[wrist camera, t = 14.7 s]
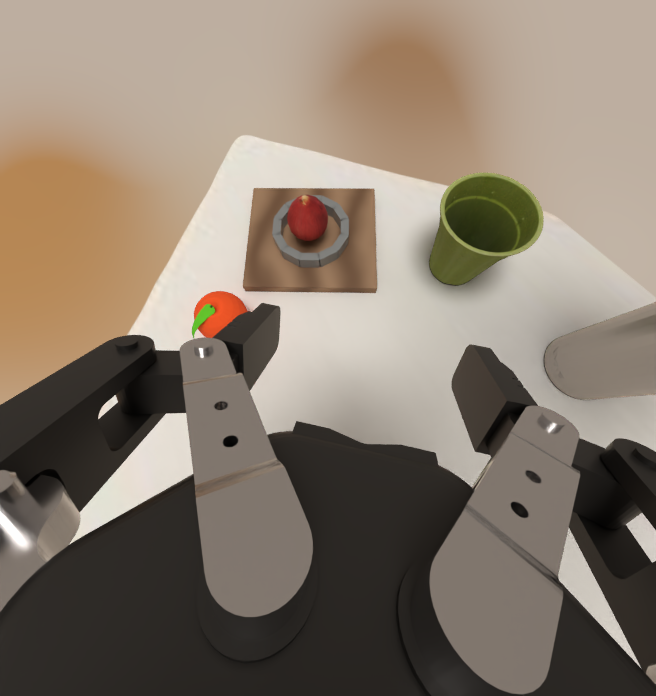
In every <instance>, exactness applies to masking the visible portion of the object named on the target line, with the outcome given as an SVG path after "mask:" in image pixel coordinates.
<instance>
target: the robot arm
mask: <svg viewBox="0 0 656 696" xmlns="http://www.w3.org/2000/svg"><path fill="white" fill-rule="evenodd" d="M279 330H280V307H279V306H275V305H270V304H265V303H261V304H260V305H259V306H258V307H257V308H256V309H255V310H254V311H253V312H249V311H248V312H245V313H243V314H240V315H238V316H237V317H236V318H234V319H233V320H232V322H230V323H229V324H228V325H227V326H225V327H224V328H223V329H222V330H221V331H219V332H218V333H217V334H216V335H215V336H214V337H212V338H197V339H193V340H190V341H188V342H186V343H184V344H183V345H182V346H181V348H180V351H159V350H155V346H154V342H153V340H152V339H151V338H149V337H146V336H141V335H128V336H122V337H117V338H114V339H112V340H109V341H107V342H105V343H104V344H102V345H100V346H99V347H97V348H95V349H94V350H92V351H90V352H89V353H87V354H85V355H84V356H82V357H80V358H79V359H77V360H75V361H74V362H72V363H70V364H69V365H67V366H65V367H63V368H62V369H60V370H58V371H57V372H55V373H53V374H52V375H50V376H48V377H47V378H45V379H43V380H42V381H40V382H39V383H37V384H35V385H33V386H32V387H30V388H28V389H27V390H25V391H23V392H22V393H20V394H18V395H16V396H15V397H13V398H12V399H10V400H8V401H6V402H5V403H3V404H1V405H0V696H656V561H655V562H653V563H652V562H651V561H650V559H649V558H648V556H647V555H646V553H645V552H644V551H643V549H642V548H641V546H640V545H639V543H638V542H637V540H636V539H635V538H634V536H633V535H632V533H631V532H630V530H629V529H628V527H627V526H626V524H627V523H628V522H629V521H631V520H632V519H634V518H635V517H636V516H638V515H639V514H640V513H643V514H644V515H645V517H646V518H647V519H648V521H649V522H650V523H651V524H652V526H653V527H654V528H655V530H656V452H655V451H653V450H651V449H650V448H648V447H646V446H644V445H641V444H639V443H637V442H634V441H631V440H627V439H620V438H619V439H615V440H614V441H613V442H612V443H611V444H610V445H609V446H608V447H607V448H606V449H605V448H603V447H600V446H598V445H595V444H593V443H590V442H587V441H585V440H582V439H580V438H579V432H578V430H577V429H576V428H575V426H574V425H573V424H572V423H571V422H569V421H568V420H567V419H566V418H564V417H563V416H561V415H559V414H558V413H556V412H554V411H552V410H549V409H547V408H544V407H540V406H538V405H537V404H536V402H535V401H534V400H533V398H532V397H531V396H530V394H529V393H528V392H527V390H526V389H525V388H523V385H522V384H521V382H520V381H518V378H517V377H516V375H515V374H514V373H513V371H512V370H510V369H509V368H508V367H507V366H505V365H504V364H503V363H501V362H500V361H499V359H498V358H497V356H496V355H495V354H494V352H493V351H492V350H491V349H490V348H486V347H481V346H476V345H469V346H468V347H467V348H466V350H465V352H464V354H463V356H462V358H461V360H460V362H459V364H458V367H457V369H456V371H455V373H454V375H453V378H452V391H453V393H454V396H455V399H456V401H457V404H458V407H459V410H460V412H461V415H462V418H463V420H464V423H465V426H466V429H467V431H468V434H469V437H470V439H471V442H472V445H473V448H474V450H475V452H479V453H484V454H488V455H491V459H490V460H489V462H488V463H487V465H486V466H485V468H484V469H483V471H482V472H481V474H480V476H479V477H478V479H477V480H476V482H475V483H474V485H473V486H472V487H470V486H469V485H468V484H467V483H466V482H465V481H463V480H462V479H461V478H459V477H458V476H456V475H455V474H453V473H452V472H450V471H449V470H447V469H445V468H443V467H441V466H439V465H438V462H437V457H436V453H434V452H430V451H426V450H421V449H417V448H412V447H408V446H404V445H381V444H363V443H360V442H358V441H356V440H354V439H351V438H349V437H347V436H345V435H343V434H340V433H338V432H336V431H334V430H331V429H329V428H324V427H320V426H316V425H311V424H307V423H302V422H298V421H296V424H295V427H294V429H293V431H286V432H277V433H272V434H269V435H267V434H266V431H265V429H264V426H263V424H262V421H261V419H260V416H259V414H258V411H257V409H256V406H255V404H254V401H253V399H252V396H251V394H250V390H251V388H252V387H253V385H254V384H255V382H256V381H257V379H258V378H259V376H260V375H261V373H262V372H263V370H264V369H265V367H266V366H267V364H268V362H269V361H270V359H271V358H272V356H273V355H274V353H275V352H276V350H277V347H278V342H279ZM544 362H545V368H546V372H547V374H548V376H549V378H550V380H551V381H552V382H553V383H554V385H555V386H556V387H557V388H558V389H560V390H561V391H562V392H564V393H565V394H567V395H569V396H571V397H574V398H577V399H582V400H591V399H604V398H618V397H630V396H643V395H655V394H656V302H655V303H652V304H649V305H647V306H644V307H641V308H638V309H636V310H633V311H630V312H627V313H625V314H622V315H619V316H616V317H614V318H611V319H608V320H606V321H603V322H600V323H597V324H595V325H592V326H589V327H586V328H583V329H581V330H578V331H575V332H572V333H570V334H567V335H564V336H561V337H559V338H557V339H555V340H554V341H553V342H551V344H550V345H549V346H548V348H547V350H546V352H545V358H544ZM114 395H116V397H117V400H118V403H117V404H116V405H114V406H113V407H112V408H111V409H110V410H109V411H108V412H106V413H105V414H104V415H103V416H102V417H101V418H100V419H98V415H99V412H100V410H101V408H102V406H103V405H104V404H105V403H106V402H107V401H108V400H110V399H111V398H112V397H113V396H114ZM166 413H186V414H187V423H188V431H189V439H190V448H191V456H192V464H193V473H194V474H193V475H191V476H189V477H187V478H185V479H184V480H182V481H180V482H178V483H177V484H175V485H173V486H171V487H170V488H168V489H166V490H164V491H162V492H161V493H159V494H157V495H155V496H154V497H152V498H150V499H148V500H147V501H145V502H143V503H141V504H139V505H138V506H136V507H134V508H132V509H131V510H129V511H127V512H125V513H124V514H122V515H120V516H118V517H116V518H115V519H113V520H111V521H109V522H108V523H106V524H104V525H102V526H100V527H99V528H97V529H95V530H93V531H92V532H90V533H88V534H86V535H84V536H83V537H81V538H79V539H78V540H76V541H75V542H73V543H71V544H70V542H71V541H72V539H73V538H74V536H75V534H76V532H77V530H78V528H79V525H80V513H79V512H80V511H81V510H82V509H83V508H84V507H85V506H86V504H87V503H88V502H89V501H90V500H91V499H92V498H93V496H94V495H95V494H96V493H97V492H98V491H99V490H100V488H101V487H102V486H103V485H104V484H105V483H106V482H107V480H108V479H109V478H110V477H111V476H112V475H113V474H114V472H115V471H116V470H117V469H118V468H119V467H120V466H121V464H122V463H123V462H124V461H125V460H126V459H127V457H128V456H129V455H130V454H131V453H132V452H133V451H134V449H135V448H136V447H137V446H138V445H139V444H140V443H141V441H142V440H143V439H144V438H145V437H146V436H147V435H148V433H149V432H150V431H151V430H152V429H153V428H154V427H155V425H156V424H157V423H158V422H159V421H160V420H161V419H162V417H163V416H164V415H165V414H166ZM568 528H570V530H571V532H572V534H573V536H574V538H575V540H576V542H577V544H578V546H579V548H580V550H581V551H582V553H583V555H584V557H585V559H586V561H587V563H588V565H589V567H590V569H591V571H592V573H593V575H594V577H595V579H596V581H597V583H598V585H599V586H600V588H601V590H602V592H603V594H604V596H605V598H606V600H607V602H608V604H609V606H610V608H611V610H612V612H613V614H614V616H615V618H616V620H617V622H618V623H619V625H620V627H621V629H622V631H623V633H624V635H625V637H626V639H627V641H628V643H629V645H630V647H631V649H632V651H633V653H634V655H635V657H636V658H637V660H638V662H639V664H640V666H641V668H642V669H641V668H640V667H639V666H638V665H637V664H636V663H635V662H634V660H633V659H632V658H631V657H630V656H629V655H628V654H627V653H626V652H625V651H624V650H623V649H622V648H621V647H620V645H619V644H618V643H617V642H616V641H615V640H614V639H613V638H612V637H611V636H610V635H609V634H608V633H607V631H606V630H605V629H604V628H603V627H602V626H601V625H600V624H599V623H598V622H597V621H596V620H595V619H594V618H593V616H592V615H591V614H590V613H589V612H588V611H587V610H586V609H585V608H584V607H583V606H582V605H581V604H580V603H579V601H578V600H577V599H576V598H575V597H574V596H573V595H572V594H571V593H570V592H569V591H568V590H567V589H566V587H565V586H564V585H563V584H562V583H561V582H560V581H559V580H558V572H559V568H560V563H561V559H562V554H563V550H564V545H565V541H566V537H567V532H568ZM69 544H70V545H69Z"/></svg>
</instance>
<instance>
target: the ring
mask: <svg viewBox="0 0 656 696" xmlns="http://www.w3.org/2000/svg"><path fill="white" fill-rule="evenodd" d="M311 196H315V197H317V198H318V199H319V200H320V201H321V202H322V203H323V204H324V206H325V208H326V211H327V213H328V215H329V216H331V217H333V218H334V220H335V221H336V223H337V224H338V226H339V227H340V235H339V237H338V238H337V240H336V241H335V243H334V244H333V246H331V247H329V248H327V249H325V250H323V251H321V252H319V253H301V252H299V251H297V250H295V249H293V248H292V247H290V246H288V245H287V244H286V242H285V240H284V238H283V232H284V227H285V226H286V225H287V223H288V222H287V216H288V210H289V208H290V205H291V203H292V202H293V201H294V200H295V199H296V198H295V199H293V200H291V201H289V202H286V203H285V204H284V205H283V206H282V208H281V209H280V210H279V211H278V213H277V214H276V215H275V217H274V220H273V232H272V236H273V239H274V242H275V244H276V246H277V248H278V250H279V251H280V253H281V255H282V256H283V258H284V259H286V260H287V261H289V262H291V263H293V264H295V265H297V266H299V267H300V266H301V267H305V268H320V267H323V266H325V265H327V264H329V263H331V262H333V261H335V260H337V259H338V258H339V257H340V255H341V254H342V252H343V251H344V249H345V248H346V246H347V245H348V238H349V218H348V216H347V215H346V213H345V212H344V210H343V209H342V207H341V206H340V204H338V203H337V202H335V201H333V200H331V199H329V198H326V197H324V196H321V195H311Z"/></svg>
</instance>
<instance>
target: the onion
mask: <svg viewBox="0 0 656 696" xmlns="http://www.w3.org/2000/svg"><path fill="white" fill-rule="evenodd" d="M287 222H288V225H289V227H290V230H291V232H292V233H293V234H294V235H295V236H296V237H297V238H298V239H301V240H304V241H312V240H316V239H318V238H319V237H320V236H322V235H323V234H324V232H325V230H326V228H327V224H328V213H327V211H326V208H325V206H324V204H323V203H322V202H321V201H320V200H319V199H318V198H317V197H315V196H311V195H302V196H299V197H297V198H296V199H295V200H294V201H293V202H292V203H291V205H290V208H289V210H288V216H287Z"/></svg>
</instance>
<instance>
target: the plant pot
mask: <svg viewBox="0 0 656 696" xmlns="http://www.w3.org/2000/svg"><path fill="white" fill-rule="evenodd" d="M440 215H441V217H440V226H439V229H438V232H437V236H436V239H435V242H434V246H433V249H432V252H431V255H430V261H429V266H430V269H431V272H432V274H433V275H434V276H435V277H436V278H437V279H438V280H440V281H441V282H443V283H446V284H452V285H460V284H464V283H466V282H468V281H470V280H471V279H473V278H474V277H475V276H477V275H478V274H480V273H481V272H483V271H484V270H486V269H487V268H489V267H490V266H492V265H493V264H495V263H496V262H498V261H499V260H502V259H504V258H506V257H508V256H511V255H515V254H518V253H520V252H522V251H524V250H526V249H528V248H529V247H530V246H532V245H533V244H534V243H535V241H536V240H537V239H538V238H539V236H540V234H541V232H542V228H543V212H542V208H541V206H540V204H539V202H538V200H537V199H536V197H535V196H534V195H533V194H532V193H531V191H530V190H529V189H528V188H526V187H525V186H524V185H522V184H520V183H519V182H517V181H515V180H514V179H512V178H509V177H506V176H503V175H499V174H495V173H475V174H470V175H467V176H464V177H461V178H460V179H458V180H456V181H455V182H453V183H452V184H451V185H450V186H449V187H448V188H447V190H446V191H445V193H444V194H443V197H442V200H441V204H440Z"/></svg>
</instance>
